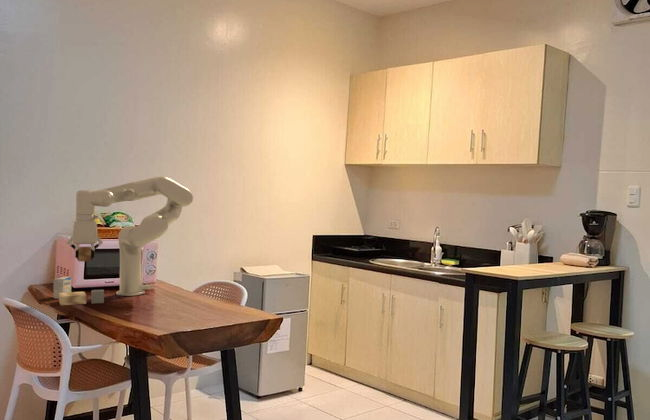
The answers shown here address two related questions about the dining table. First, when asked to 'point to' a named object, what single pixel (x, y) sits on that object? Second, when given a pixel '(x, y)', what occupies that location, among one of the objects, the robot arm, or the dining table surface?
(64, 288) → the medicine box
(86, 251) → the walnut block
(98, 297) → the slate block
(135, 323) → the dining table surface
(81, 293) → the birch block
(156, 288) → the dining table surface
